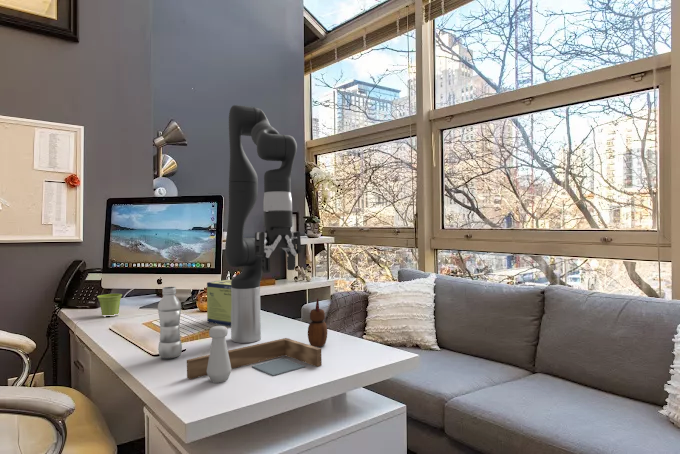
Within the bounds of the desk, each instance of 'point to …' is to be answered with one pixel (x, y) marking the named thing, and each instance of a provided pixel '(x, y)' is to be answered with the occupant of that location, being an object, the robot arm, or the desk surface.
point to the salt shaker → (218, 355)
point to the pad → (278, 366)
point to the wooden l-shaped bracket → (260, 355)
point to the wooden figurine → (317, 327)
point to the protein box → (219, 302)
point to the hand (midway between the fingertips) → (278, 271)
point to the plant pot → (109, 303)
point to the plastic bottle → (169, 324)
